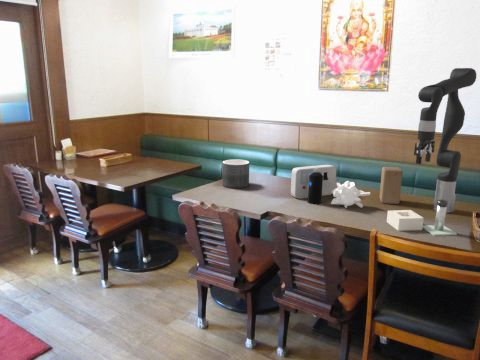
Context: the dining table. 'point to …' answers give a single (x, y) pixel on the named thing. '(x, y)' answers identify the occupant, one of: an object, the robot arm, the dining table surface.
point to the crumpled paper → (347, 194)
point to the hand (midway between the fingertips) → (423, 162)
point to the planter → (235, 173)
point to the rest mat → (438, 233)
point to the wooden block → (390, 185)
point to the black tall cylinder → (315, 187)
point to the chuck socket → (405, 220)
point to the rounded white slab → (302, 180)
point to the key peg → (440, 215)
